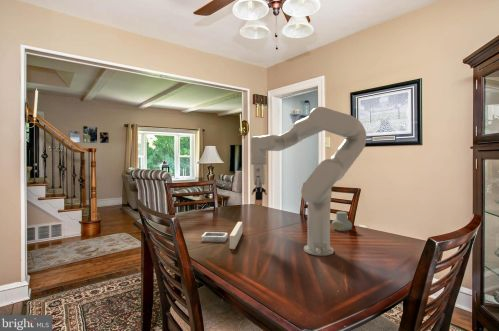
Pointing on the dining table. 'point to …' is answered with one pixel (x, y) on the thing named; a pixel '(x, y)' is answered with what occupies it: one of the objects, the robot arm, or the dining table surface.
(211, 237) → the grey hollow rectangular frame
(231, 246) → the white long flat block
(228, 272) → the dining table surface
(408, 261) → the dining table surface
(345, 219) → the air freshener
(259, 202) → the grandmother figurine
